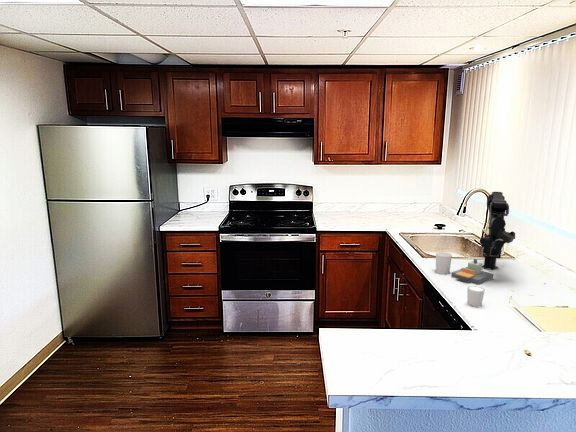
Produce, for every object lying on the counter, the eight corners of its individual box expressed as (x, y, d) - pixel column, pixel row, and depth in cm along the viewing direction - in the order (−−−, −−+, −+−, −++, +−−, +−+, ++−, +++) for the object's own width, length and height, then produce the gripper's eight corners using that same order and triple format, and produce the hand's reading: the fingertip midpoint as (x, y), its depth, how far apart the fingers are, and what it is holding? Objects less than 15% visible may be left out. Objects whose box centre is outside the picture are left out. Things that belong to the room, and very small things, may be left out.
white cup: (451, 275, 210) (453, 256, 208) (435, 274, 212) (437, 255, 210) (448, 270, 218) (450, 252, 216) (433, 269, 220) (434, 251, 218)
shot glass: (462, 300, 178) (464, 285, 176) (477, 300, 178) (479, 285, 177) (471, 307, 171) (472, 291, 170) (486, 306, 172) (488, 291, 170)
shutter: (462, 272, 207) (462, 267, 206) (475, 275, 201) (475, 271, 201) (455, 274, 203) (455, 269, 202) (468, 278, 197) (469, 273, 197)
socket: (467, 271, 217) (467, 266, 216) (493, 278, 206) (493, 273, 205) (451, 276, 208) (451, 272, 207) (477, 284, 197) (478, 280, 196)
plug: (471, 274, 211) (473, 257, 209) (480, 276, 207) (482, 259, 205) (466, 275, 208) (468, 258, 206) (476, 278, 204) (477, 261, 202)
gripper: (502, 231, 190) (499, 262, 194) (522, 225, 201) (519, 255, 204) (480, 226, 199) (477, 256, 203) (500, 221, 210) (497, 250, 213)
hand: (493, 255), depth 205 cm, fingers open, 9 cm apart
